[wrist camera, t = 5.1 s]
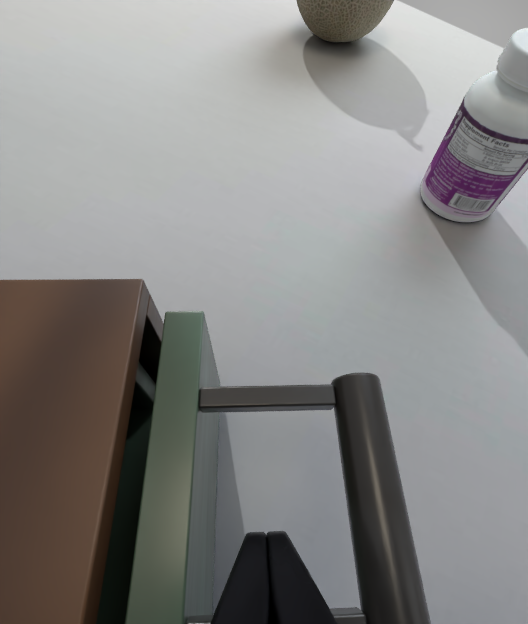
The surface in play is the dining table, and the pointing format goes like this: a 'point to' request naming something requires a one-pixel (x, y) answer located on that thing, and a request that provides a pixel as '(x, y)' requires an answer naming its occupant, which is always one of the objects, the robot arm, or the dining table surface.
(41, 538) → the storage unit
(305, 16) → the fruit
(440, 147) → the pill bottle
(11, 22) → the dining table surface
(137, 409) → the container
